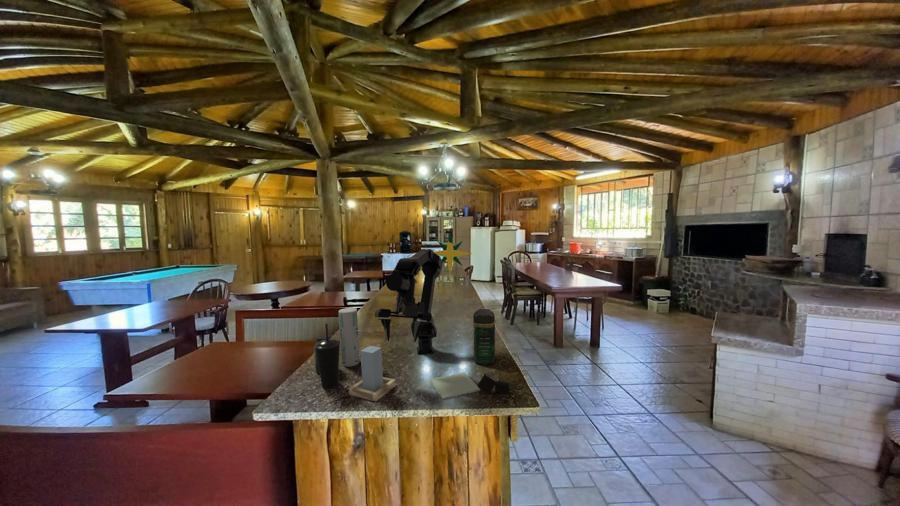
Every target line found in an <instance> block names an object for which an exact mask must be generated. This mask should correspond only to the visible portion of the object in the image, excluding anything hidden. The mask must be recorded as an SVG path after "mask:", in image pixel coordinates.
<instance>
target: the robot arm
mask: <svg viewBox="0 0 900 506" xmlns="http://www.w3.org/2000/svg"><path fill="white" fill-rule="evenodd" d="M442 269H443V260H442V258H441V256H440V255H438V254H437V253H435V252H434V250H433V249H431V248H421V249H419V251H418V252H416V253H415V254H413V255H412V256H410V257H402V258H400V259H398V261H397V263H396V265H395V267H394V269H393V270H392V273H391V274H389V275H388V276H387V279H386V280H385V286H386V287H387V289H388V290H389V291H391V292H396V293H397V297H395V298H396V299H395V300H396V307H395V309H394V311H392V310H391V309H390V308H376V310H375V311H374V318H377V320H378V321H380V322H381V324H382V327H383V330H384V334H385V338H386V341H387V342H390V337H391V336H390V335H391V333H390V332H391V322H392V319H391V318H405V319H412V322H411V325H410V329H411V333H412V337H413V340H412V341H413V343H416V342H417V346H416V352H417V355H425V354H434V353H435V350H434V346H433V339H434V338H436V337H437V334H438V328H437V327H436V325H435V323H434V322H435V321H434V320H435V319H434V318H433V314H432V308H433V300H434V294H435V292H434V291H435V286H436V280H437V278H438V277H439V276H440V275H441V271H442ZM421 271H422V273H423V276H424V278H423V284H422V289H421V291H422V292H421V296H420V301H418V302H417V303H416V297H415V293H416V291H415V290H416V284H417V279H416V278H415V277H416V276H417V275H419V273H420V272H421Z"/></svg>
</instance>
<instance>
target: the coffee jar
mask: <svg viewBox="0 0 900 506" xmlns="http://www.w3.org/2000/svg"><path fill="white" fill-rule="evenodd" d="M472 318H473V361H474V363H476V364H480V365H484V366H485V365H489V364H490V365H491V364H494V362H495V360H496V320H495V318H496V317H495V312H494V311H492V310H491V309H489V308H479V309H477V310H476V311H474V313H473V315H472Z"/></svg>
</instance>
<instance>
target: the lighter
mask: <svg viewBox="0 0 900 506" xmlns="http://www.w3.org/2000/svg"><path fill="white" fill-rule="evenodd" d="M495 376H496V374H495V373H494V372H488V373H484V374H483V376H482V377H481V379H480V381H479V382H478V383H477V386H478V387H479V388H480V390H482V391H483V392H485V393H487V394H491V392H492V391H493V389H494V391H495V392H496V393H498V394H502V395H503V394H504V395H505V394H506V395H508V394H509V393H510V389H511V388H510V387H511V383H510V382H507V381H506V382H505V381H501V380H498V379H497V378H495Z"/></svg>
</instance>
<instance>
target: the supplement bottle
mask: <svg viewBox="0 0 900 506" xmlns="http://www.w3.org/2000/svg"><path fill="white" fill-rule="evenodd" d="M325 339H326V334H321V335H318V336H317V337H316V339H315V340H316V343H318V342H320V341H322V340H325ZM328 339H332V336H331V335H330V334H328ZM316 343H315V344H316ZM313 355H314V370H315V372H316V373H318V374H320V371H319V365H318V359H317V353H316V348H315V346H314V347H313Z"/></svg>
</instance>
